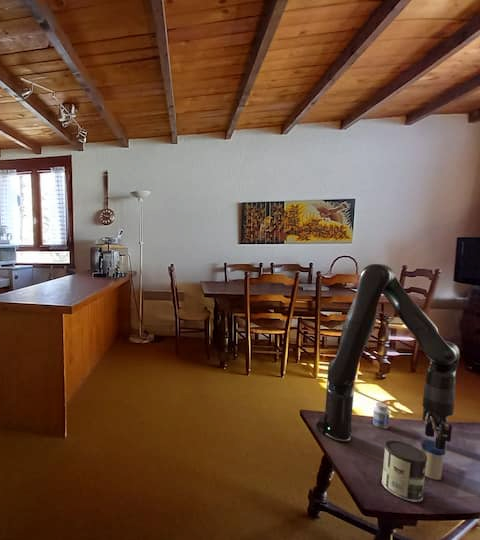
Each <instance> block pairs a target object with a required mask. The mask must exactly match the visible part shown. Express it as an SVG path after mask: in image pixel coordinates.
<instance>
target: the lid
mask: <svg viewBox="0 0 480 540" xmlns="http://www.w3.org/2000/svg"><path fill="white" fill-rule="evenodd" d="M420 447H421V449H422V448H423V449H424V450H426V451H427V452H429V453H432V454H435V455H439V456H443V455H444V456H445V455H446V448H445V449H444V450H441V449H437V448H436V447H435V441H434V440H430V439H423V440H422V441H421V445H420Z"/></svg>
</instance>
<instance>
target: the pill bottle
mask: <svg viewBox="0 0 480 540" xmlns="http://www.w3.org/2000/svg"><path fill="white" fill-rule="evenodd" d="M388 409H389V407H388V405H387V404H386V403H383V402H376V403H375V406H374V408H373V416H372V424H373V426H375V427H378V428H380V429H388V428H389V425H390V411H389V410H388Z"/></svg>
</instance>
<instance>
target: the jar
mask: <svg viewBox="0 0 480 540" xmlns="http://www.w3.org/2000/svg"><path fill="white" fill-rule="evenodd" d="M421 451H422V452H423V453H425V455H426V456H427V461H426V470H425V477H427V478H429V479H432V480H436V481H439V480H442V475H443V467H444V459H445V455H443V456H439V455H435V454H432V453H429V452H427V451H426V450H424V449H423V448H422V447H421Z"/></svg>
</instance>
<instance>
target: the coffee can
mask: <svg viewBox="0 0 480 540" xmlns="http://www.w3.org/2000/svg"><path fill="white" fill-rule="evenodd" d="M426 461H427V456H426V455H425V453H423V452H422V449H419V447H416V446H414V445H412V444H409V443H407V442H403V441H400V440H395V439H391V440H386V441H385V442H384V455H383V464H382V465H383V466H382V477H381V484H382V485H383V487H384V488H385V489H386V490H387V491H388V492H390V493H391V494H392V495H394V496H396V497H398V498H400V499H401V500H405V501H407V502H412V503H420V502H422V501H423V500H424V488H425V487H424V486H425V478H426V476H425V470H426Z"/></svg>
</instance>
